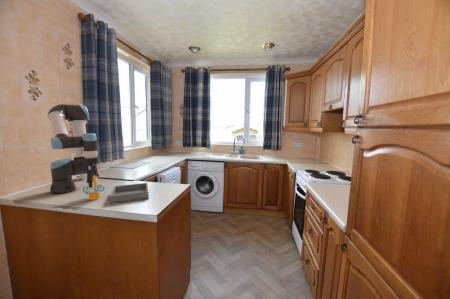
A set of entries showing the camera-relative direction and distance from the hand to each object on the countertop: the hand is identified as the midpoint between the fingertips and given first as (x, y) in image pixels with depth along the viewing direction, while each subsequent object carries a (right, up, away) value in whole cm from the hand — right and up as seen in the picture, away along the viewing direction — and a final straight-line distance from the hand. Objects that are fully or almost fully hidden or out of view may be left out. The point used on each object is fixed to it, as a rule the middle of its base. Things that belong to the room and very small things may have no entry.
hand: (94, 189), depth 133 cm
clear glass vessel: (-40, -1, +53) cm, 66 cm away
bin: (+22, -6, +6) cm, 23 cm away
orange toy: (0, -6, +1) cm, 7 cm away
